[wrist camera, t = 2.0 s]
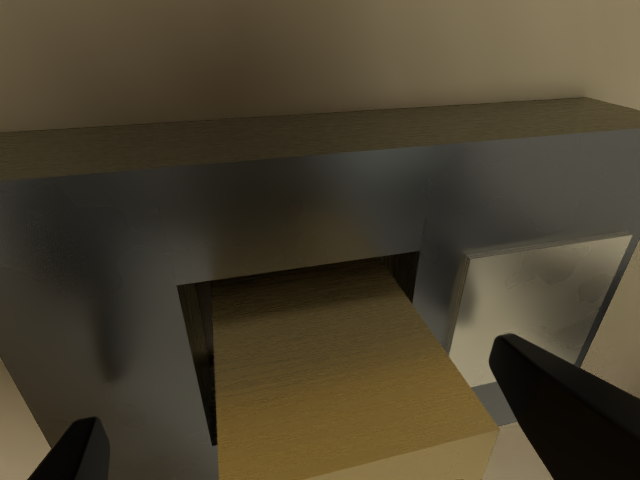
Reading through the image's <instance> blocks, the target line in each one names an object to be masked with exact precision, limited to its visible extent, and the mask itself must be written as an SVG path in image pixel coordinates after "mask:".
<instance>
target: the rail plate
mask: <svg viewBox="0 0 640 480" xmlns="http://www.w3.org/2000/svg"><path fill="white" fill-rule="evenodd" d="M639 239H640V111H639V110H635V109H631V108H627V107H623V106H619V105H615V104H611V103H607V102H603V101H599V100H595V99H591V98H571V99H554V100H538V101H521V102H504V103H488V104H471V105H455V106H438V107H422V108H405V109H388V110H372V111H355V112H339V113H322V114H305V115H289V116H272V117H256V118H239V119H223V120H206V121H189V122H173V123H156V124H140V125H123V126H106V127H90V128H73V129H57V130H40V131H24V132H7V133H0V357H1V359H2V361H3V363H4V364H5V366H6V368H7V370H8V372H9V373H10V375H11V377H12V379H13V380H14V382H15V384H16V386H17V388H18V389H19V391H20V393H21V395H22V397H23V398H24V400H25V402H26V404H27V406H28V407H29V409H30V411H31V413H32V415H33V416H34V418H35V420H36V422H37V424H38V425H39V427H40V429H41V431H42V433H43V434H44V436H45V438H46V440H47V442H48V443H49V445H50V447H51V449H52V448H53V447H54V445H55V444H56V443H57V441H58V440H59V439H60V438H61V436H62V435H63V434H64V433H65V431H66V430H67V429H68V428H69V426H70V425H71V424H72V423H73V422H74V421H76V420H78V419H82V418H87V417H92V416H97V417H98V418H99V419H100V420H101V423H102V425H103V427H104V429H105V432H106V434H107V436H108V439H109V442H110V462H109V475H108V480H219V467H218V442H217V417H216V392H215V367H214V360H212V361H210V360H209V355H208V350H207V344H206V339H205V334H204V329H203V324H202V318H201V313H200V308H199V303H198V298H197V292H196V287H195V283H197V282H204V281H211V280H218V279H225V278H232V277H239V276H246V275H253V274H260V273H267V272H274V271H281V270H288V269H295V268H302V267H309V266H316V265H323V264H330V263H337V262H344V261H351V260H358V259H365V258H373V257H379V258H380V259H381V260H382V262H383V263H384V265H385V266H386V268H387V269H388V270H389V272H390V273H391V275H392V276H393V278H394V279H395V280H396V282H397V283H398V285H399V286H400V288H401V289H402V290H403V292H404V293H405V295H406V296H407V297H408V299H409V300H410V302H411V303H412V305H413V306H414V307H415V309H416V310H417V312H418V313H419V315H420V316H421V317H422V319H423V320H424V322H425V323H426V325H427V326H428V327H429V329H430V330H431V332H432V333H433V335H434V336H435V337H436V339H437V340H438V342H439V343H440V345H441V346H442V347H443V349H444V350H445V352H446V353H447V355H448V356H449V357H450V359H451V360H452V362H453V363H454V365H455V366H456V367H457V369H458V370H459V372H460V373H461V374H462V376H463V377H464V379H465V380H466V382H467V383H468V384H469V386H470V387H471V389H472V390H473V392H474V393H475V394H476V396H477V397H478V399H479V400H480V402H481V403H482V404H483V406H484V407H485V409H486V410H487V412H488V413H489V414H490V416H491V417H492V419H493V420H494V422H495V423H496V424H497V426H502V425H506V424H510V423H514V422H518V421H517V420H516V418H515V416H514V414H513V412H512V410H511V408H510V406H509V404H508V402H507V400H506V398H505V397H504V395H503V393H502V391H501V389H500V387H499V385H498V383H497V381H496V379H495V377H494V375H493V373H492V371H491V369H490V366H489V356H490V352H491V349H492V345H493V342H494V339H495V338H496V337H497V336H498V335H503V334H508V333H513V334H516V335H518V336H520V337H522V338H524V339H525V340H527V341H529V342H531V343H533V344H535V345H537V346H539V347H541V348H543V349H545V350H547V351H548V352H550V353H552V354H554V355H556V356H558V357H560V358H562V359H564V360H566V361H568V362H570V363H572V364H573V365H575V366H577V367H579V368H580V367H581V365H582V362H583V360H584V358H585V356H586V354H587V352H588V349H589V347H590V345H591V343H592V341H593V339H594V336H595V334H596V332H597V330H598V328H599V326H600V323H601V321H602V319H603V317H604V315H605V313H606V310H607V308H608V306H609V304H610V302H611V300H612V298H613V295H614V293H615V291H616V289H617V287H618V285H619V282H620V280H621V278H622V276H623V274H624V272H625V269H626V267H627V265H628V263H629V261H630V259H631V256H632V254H633V252H634V250H635V248H636V246H637V243H638V241H639Z"/></svg>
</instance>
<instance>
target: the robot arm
mask: <svg viewBox="0 0 640 480" xmlns="http://www.w3.org/2000/svg"><path fill="white" fill-rule="evenodd" d="M489 366H490V369H491V371H492V373H493V375H494V377H495V379H496V381H497V383H498V385H499V387H500V389H501V391H502V393H503V395H504V397H505V398H506V400H507V402H508V404H509V406H510V408H511V410H512V412H513V414H514V416H515V418H516V420H517V421H518V423H519V425H520V427H521V428H522V430H523V432H524V433H525V435H526V437H527V438H528V440H529V441H530V443H531V445H532V446H533V448H534V449H535V451H536V452H537V454H538V455H539V457H540V459H541V460H542V462H543V463H544V465H545V466H546V468H547V470H548V471H549V473H550V474H551V476H552V477H553V479H554V480H640V399H639V398H637V397H635V396H633V395H631V394H629V393H627V392H625V391H623V390H621V389H619V388H618V387H616V386H614V385H612V384H610V383H608V382H606V381H604V380H602V379H600V378H598V377H596V376H595V375H593V374H591V373H589V372H587V371H585V370H583V369H581V368H579V367H577V366H575V365H573V364H572V363H570V362H568V361H566V360H564V359H562V358H560V357H558V356H556V355H554V354H552V353H550V352H548V351H547V350H545V349H543V348H541V347H539V346H537V345H535V344H533V343H531V342H529V341H527V340H525V339H524V338H522V337H520V336H518V335H516V334H513V333H508V334H503V335H498V336H497V337H496V338H495V339H494V342H493V345H492V349H491V352H490V356H489ZM109 462H110V442H109V439H108V436H107V434H106V432H105V429H104V427H103V425H102V423H101V420H100V419H99V418H98V417H97V416H92V417H87V418H82V419H78V420H76V421H74V422H73V423H72V424H71V425H70V426H69V428H68V429H67V430H66V431H65V433H64V434H63V435H62V436H61V438H60V439H59V440H58V441H57V443H56V444H55V445H54V447H53V448H52V449H51V450H50V452H49V453H48V454H47V455H46V457H45V458H44V459H43V460H42V462H41V463H40V464H39V465H38V467H37V468H36V469H35V471H34V472H33V473H32V474H31V476H30V477H29V478H28V479H27V480H108V475H109Z"/></svg>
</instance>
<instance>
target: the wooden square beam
mask: <svg viewBox="0 0 640 480" xmlns="http://www.w3.org/2000/svg"><path fill="white" fill-rule="evenodd" d="M211 292H212V317H213V342H214V367H215V392H216V417H217V442H218V467H219V480H482V478H483V475H484V472H485V470H486V467H487V464H488V461H489V458H490V456H491V453H492V450H493V447H494V444H495V442H496V439H497V436H498V433H499V430H500V429H499V427H498V426H497V424H496V423H495V422H494V420H493V419H492V417H491V416H490V414H489V413H488V412H487V410H486V409H485V407H484V406H483V404H482V403H481V402H480V400H479V399H478V397H477V396H476V394H475V393H474V392H473V390H472V389H471V387H470V386H469V384H468V383H467V382H466V380H465V379H464V377H463V376H462V374H461V373H460V372H459V370H458V369H457V367H456V366H455V365H454V363H453V362H452V360H451V359H450V357H449V356H448V355H447V353H446V352H445V350H444V349H443V347H442V346H441V345H440V343H439V342H438V340H437V339H436V337H435V336H434V335H433V333H432V332H431V330H430V329H429V327H428V326H427V325H426V323H425V322H424V320H423V319H422V317H421V316H420V315H419V313H418V312H417V310H416V309H415V307H414V306H413V305H412V303H411V302H410V300H409V299H408V297H407V296H406V295H405V293H404V292H403V290H402V289H401V288H400V286H399V285H398V283H397V282H396V280H395V279H394V278H393V276H392V275H391V273H390V272H389V270H388V269H387V268H386V266H385V265H384V263H383V262H382V260H381V259H380V258H379V257H373V258H365V259H358V260H351V261H344V262H337V263H330V264H323V265H316V266H309V267H302V268H295V269H288V270H281V271H274V272H267V273H260V274H253V275H246V276H239V277H232V278H225V279H218V280H211Z"/></svg>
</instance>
